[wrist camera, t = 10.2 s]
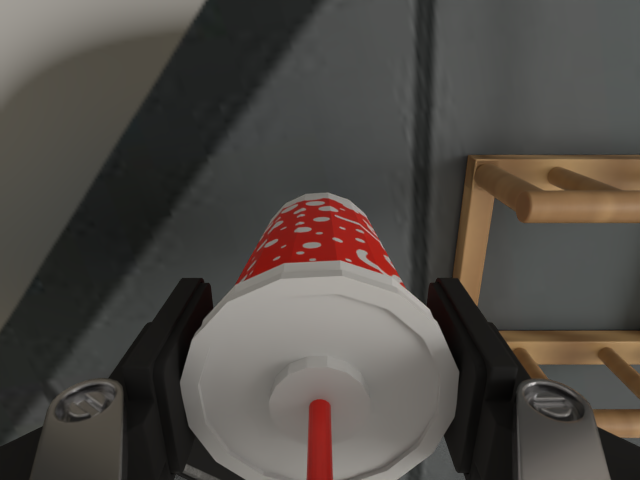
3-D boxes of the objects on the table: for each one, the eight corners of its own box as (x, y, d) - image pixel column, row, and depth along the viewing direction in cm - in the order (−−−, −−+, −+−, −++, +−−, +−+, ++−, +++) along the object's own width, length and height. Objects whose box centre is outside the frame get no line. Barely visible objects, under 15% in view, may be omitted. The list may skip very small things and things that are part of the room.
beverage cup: (405, 291, 18) (613, 825, 5) (271, 321, 19) (162, 870, 6) (377, 156, 16) (614, 492, 3) (226, 194, 17) (-105, 615, 4)
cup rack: (442, 352, 25) (484, 447, 19) (467, 154, 21) (534, 189, 15) (655, 352, 26) (770, 446, 19) (724, 154, 21) (905, 189, 15)
